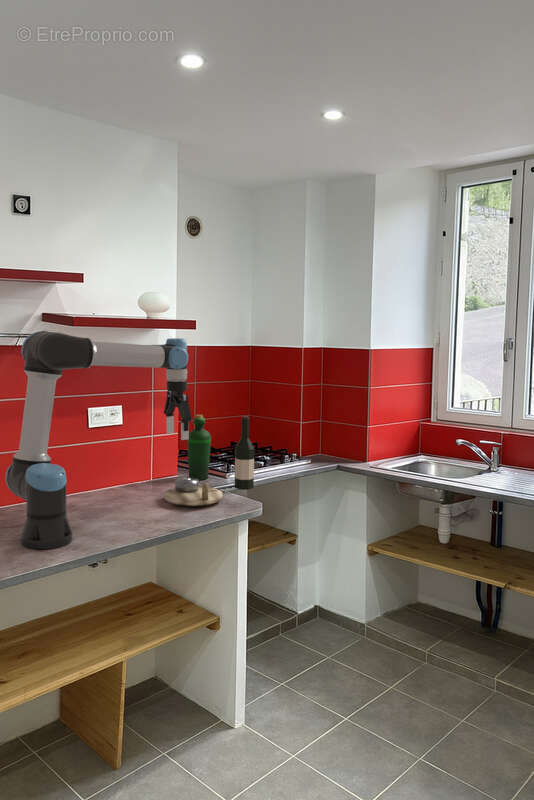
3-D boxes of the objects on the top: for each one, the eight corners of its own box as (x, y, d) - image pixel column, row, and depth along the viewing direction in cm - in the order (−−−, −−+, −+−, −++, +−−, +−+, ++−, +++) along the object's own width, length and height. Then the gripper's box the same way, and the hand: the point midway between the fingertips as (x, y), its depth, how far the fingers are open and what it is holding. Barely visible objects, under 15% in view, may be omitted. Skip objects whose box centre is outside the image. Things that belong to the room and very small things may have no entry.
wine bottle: (256, 485, 277) (258, 415, 273) (250, 490, 269) (252, 418, 265) (237, 483, 279) (239, 414, 275) (231, 488, 271) (232, 417, 267)
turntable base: (183, 509, 240) (183, 505, 240) (165, 498, 253) (165, 495, 253) (221, 503, 249) (221, 500, 249) (202, 493, 262) (202, 490, 262)
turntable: (179, 508, 236) (180, 488, 235) (155, 494, 254) (155, 475, 253) (232, 500, 248) (233, 481, 247) (205, 487, 266) (205, 469, 265)
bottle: (212, 476, 291) (213, 413, 288) (208, 481, 281) (209, 417, 277) (189, 474, 292) (189, 412, 289) (183, 480, 282) (184, 416, 278)
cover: (181, 494, 250) (181, 482, 249) (171, 488, 257) (171, 477, 256) (202, 491, 254) (202, 479, 254) (191, 485, 262) (192, 474, 261)
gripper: (200, 383, 234) (201, 441, 237) (172, 376, 255) (173, 430, 258) (181, 384, 230) (182, 443, 233) (154, 377, 251) (155, 431, 254)
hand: (177, 436), depth 246 cm, fingers open, 13 cm apart
